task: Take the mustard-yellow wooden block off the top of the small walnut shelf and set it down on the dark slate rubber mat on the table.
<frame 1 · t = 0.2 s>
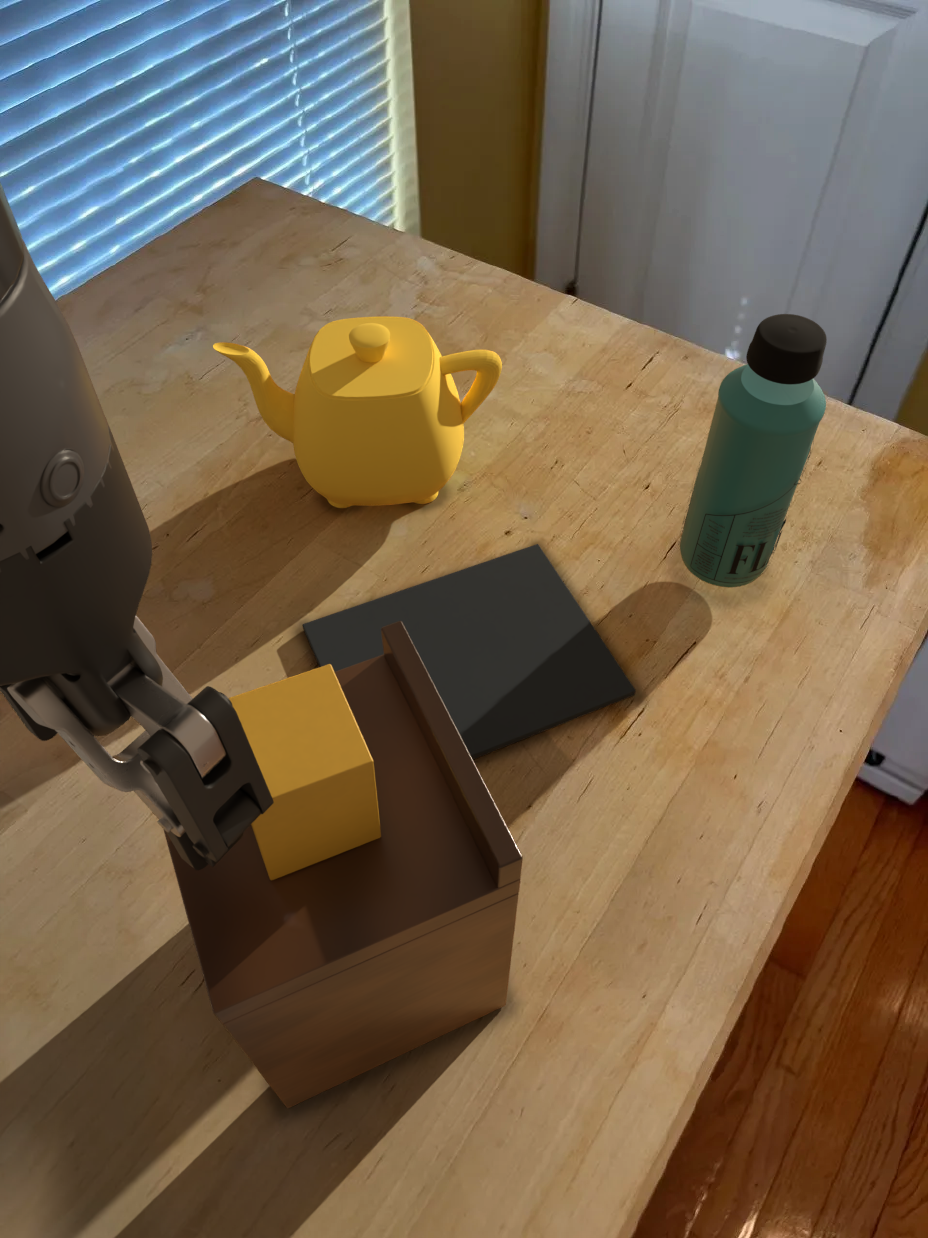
hand: (134, 781, 35), 20 cm above the table, tool pointing down, fingers open, 8 cm apart
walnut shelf: (359, 947, 51), on the table
slate mat: (464, 661, 63), on the table
yellow block: (308, 810, 37), point 17 cm above the table, touching gripper, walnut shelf
teapot: (372, 469, 74), on the table
beverage bottle: (717, 569, 68), on the table
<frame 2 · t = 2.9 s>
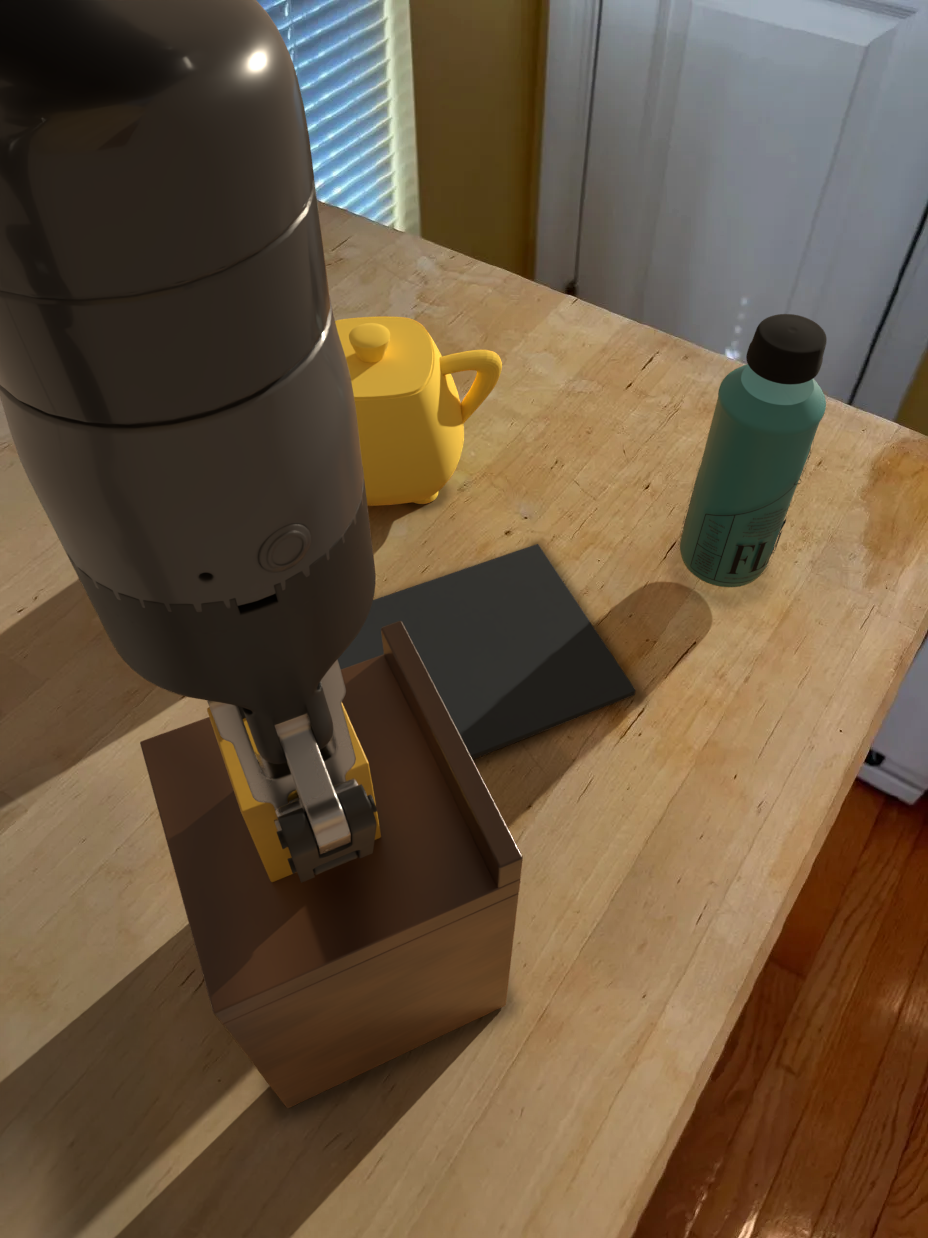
hand: (304, 796, 36), 18 cm above the table, tool pointing down, fingers closed on yellow block, 4 cm apart
yellow block: (308, 811, 37), point 17 cm above the table, touching gripper, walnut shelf
everything else where it was.
when the fingers open (2 cm above the table, at t = 10.9 s): yellow block stays where it is, resting on slate mat.
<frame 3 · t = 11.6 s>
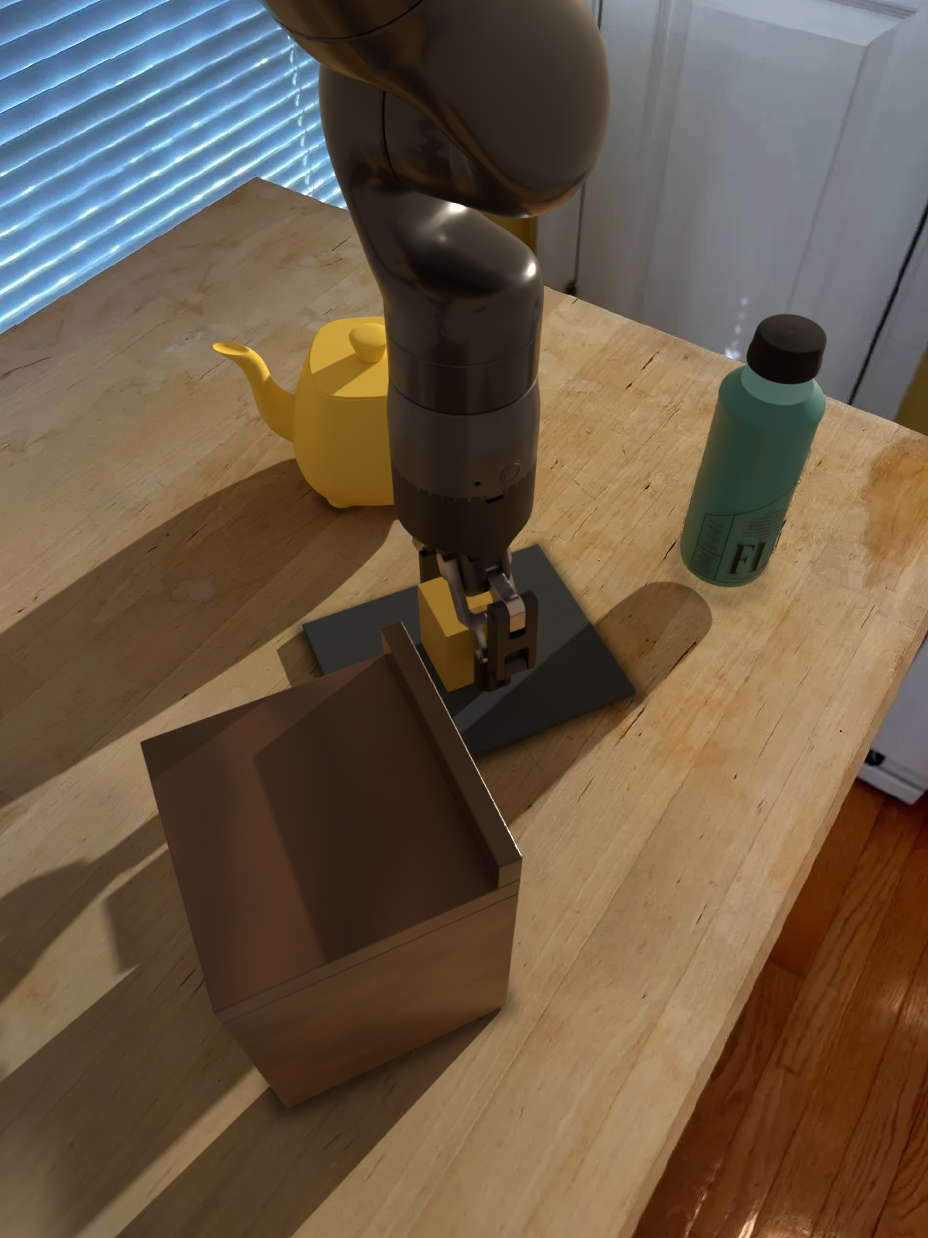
hand: (464, 633, 60), 3 cm above the table, tool pointing down, fingers open, 8 cm apart
yellow block: (465, 655, 62), point 1 cm above the table, touching slate mat
everything else where it was.
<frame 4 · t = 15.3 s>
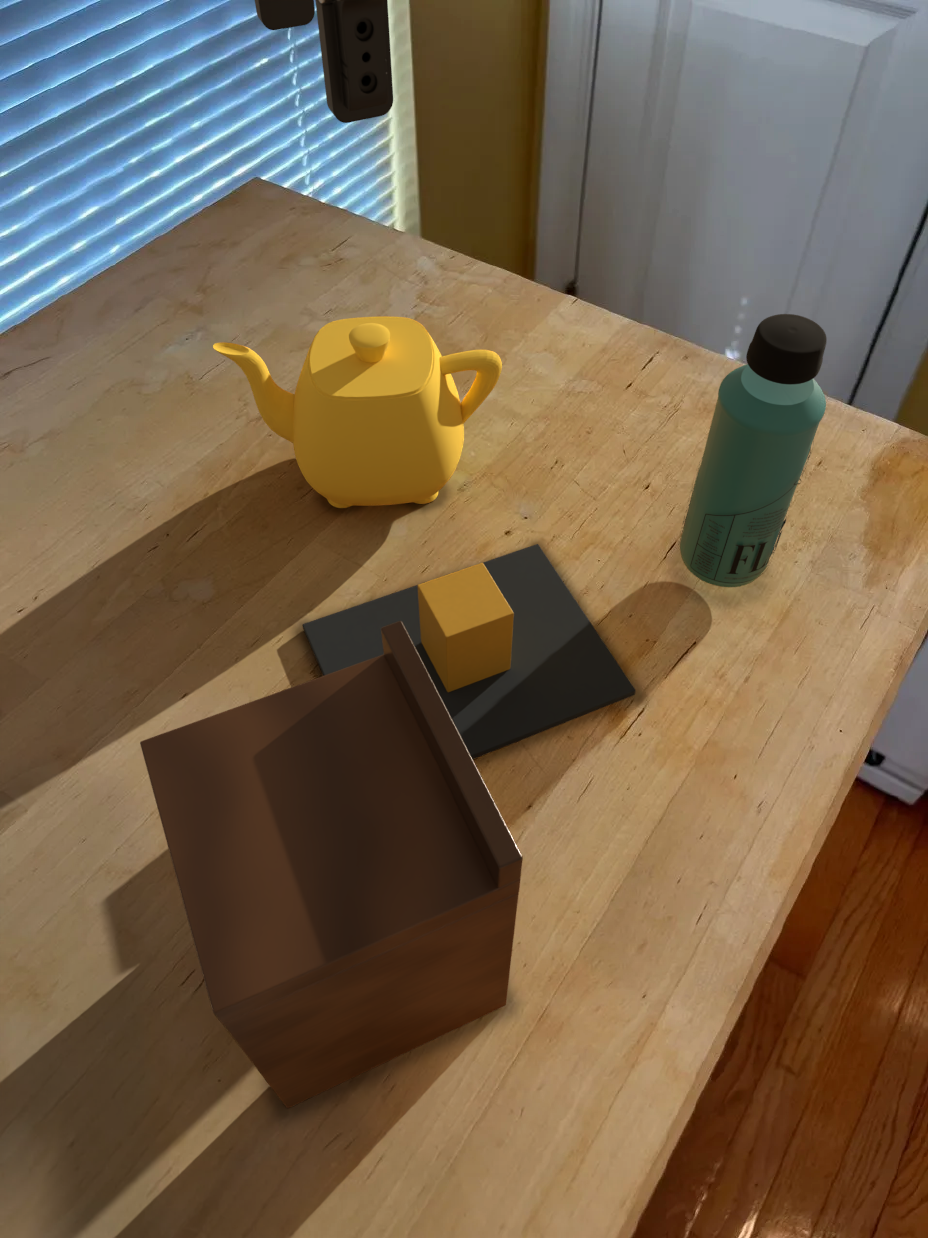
hand: (322, 66, 35), 36 cm above the table, tool pointing down, fingers open, 8 cm apart
nothing on the table moved.
at the end: yellow block inside the target area on the slate mat (0.1 cm from its centre), point 0.6 cm above the slate mat's base; yellow block tilted 0°; yellow block touching slate mat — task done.
